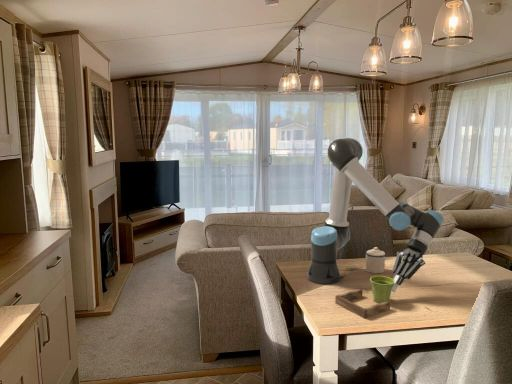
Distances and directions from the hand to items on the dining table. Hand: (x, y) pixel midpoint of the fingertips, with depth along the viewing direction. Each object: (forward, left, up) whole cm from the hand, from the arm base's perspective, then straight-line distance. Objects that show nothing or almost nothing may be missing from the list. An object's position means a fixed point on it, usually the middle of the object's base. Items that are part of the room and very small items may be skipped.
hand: (391, 290), depth 161 cm
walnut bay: (-9, -12, -4) cm, 15 cm away
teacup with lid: (-14, +31, -4) cm, 35 cm away
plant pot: (-3, -3, -4) cm, 6 cm away
